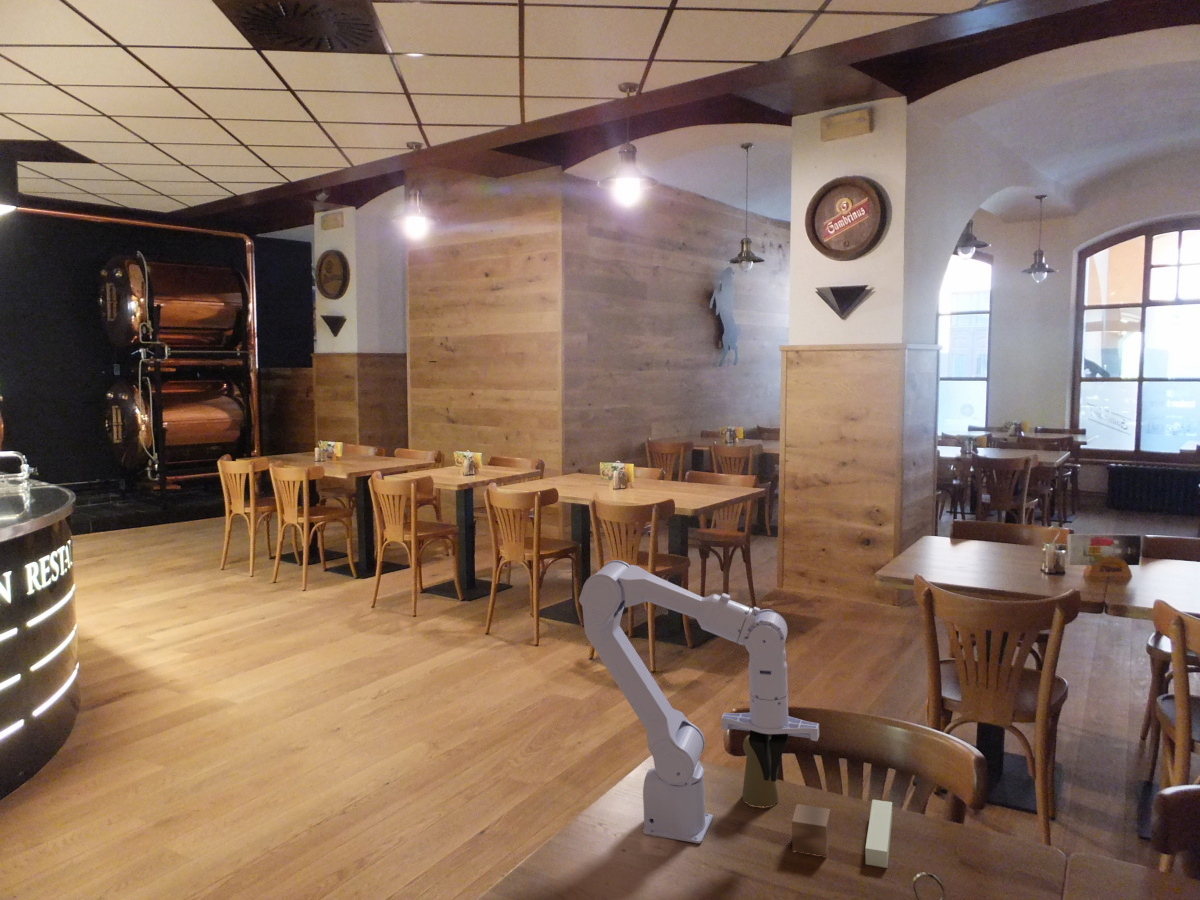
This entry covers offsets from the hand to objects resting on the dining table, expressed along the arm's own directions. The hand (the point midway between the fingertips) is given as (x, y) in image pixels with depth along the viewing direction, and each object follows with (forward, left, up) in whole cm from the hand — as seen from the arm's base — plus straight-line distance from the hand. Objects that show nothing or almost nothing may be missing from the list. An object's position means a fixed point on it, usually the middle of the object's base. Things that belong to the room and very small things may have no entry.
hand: (770, 777), depth 129 cm
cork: (-4, +11, -10) cm, 15 cm away
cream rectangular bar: (+15, +4, -10) cm, 19 cm away
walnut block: (+6, 0, -10) cm, 12 cm away
